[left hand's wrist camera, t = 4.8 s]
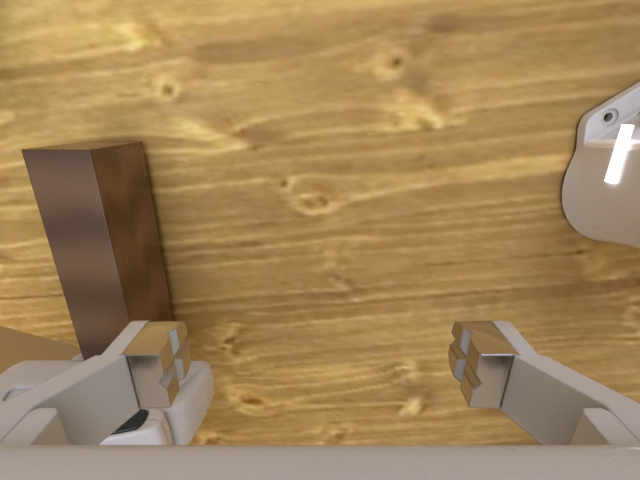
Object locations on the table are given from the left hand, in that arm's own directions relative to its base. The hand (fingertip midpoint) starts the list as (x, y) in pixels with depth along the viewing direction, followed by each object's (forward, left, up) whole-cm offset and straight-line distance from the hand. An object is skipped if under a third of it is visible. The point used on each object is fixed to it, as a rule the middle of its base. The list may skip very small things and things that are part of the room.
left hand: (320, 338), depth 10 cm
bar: (+22, -8, -27) cm, 36 cm away
